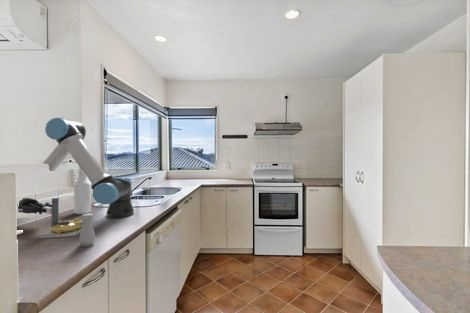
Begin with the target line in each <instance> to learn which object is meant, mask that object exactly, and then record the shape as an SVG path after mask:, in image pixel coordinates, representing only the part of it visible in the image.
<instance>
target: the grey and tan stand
mask: <svg viewBox="0 0 470 313" xmlns="http://www.w3.org/2000/svg"><path fill="white" fill-rule="evenodd" d="M59 198H60V197H53V198H51V205H52V214H51V225H50V230H51V232H68V231H73V230H77V229H80V228H81V227H82V222H83V221H82V220H81V217H75V218H74V219H67V220H63V221H62V220H59V219H60V218H59V211H60V210H59Z"/></svg>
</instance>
